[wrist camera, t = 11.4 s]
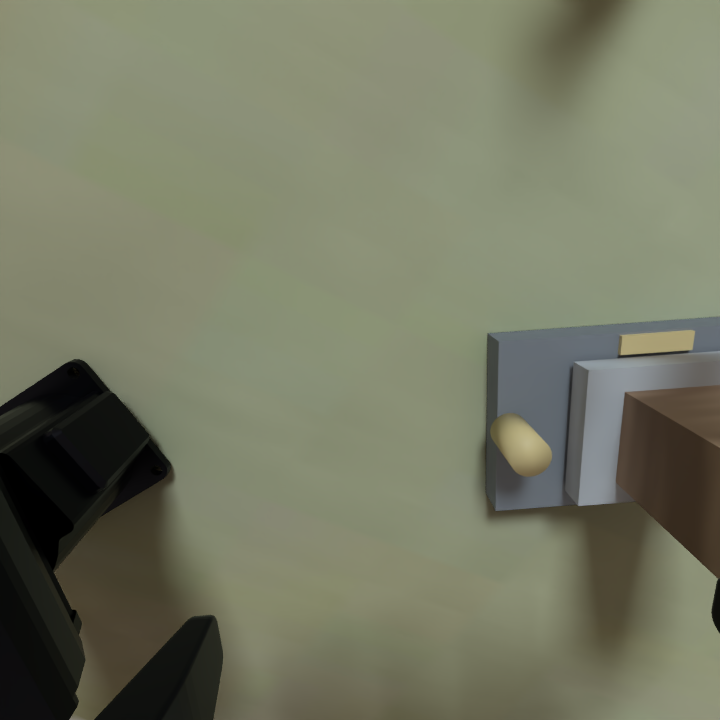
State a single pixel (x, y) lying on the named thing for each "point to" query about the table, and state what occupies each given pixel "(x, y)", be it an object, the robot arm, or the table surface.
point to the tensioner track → (558, 397)
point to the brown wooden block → (651, 442)
